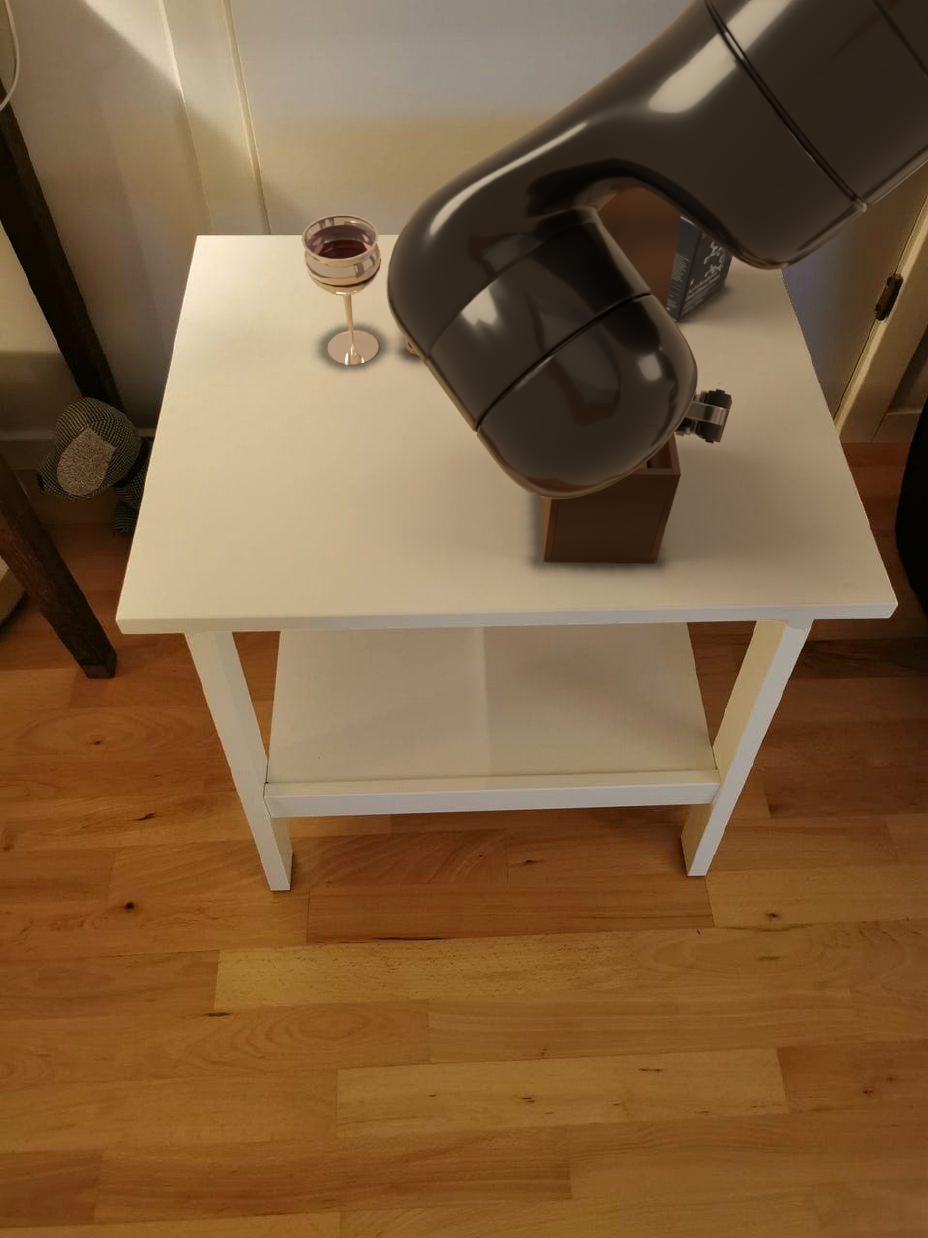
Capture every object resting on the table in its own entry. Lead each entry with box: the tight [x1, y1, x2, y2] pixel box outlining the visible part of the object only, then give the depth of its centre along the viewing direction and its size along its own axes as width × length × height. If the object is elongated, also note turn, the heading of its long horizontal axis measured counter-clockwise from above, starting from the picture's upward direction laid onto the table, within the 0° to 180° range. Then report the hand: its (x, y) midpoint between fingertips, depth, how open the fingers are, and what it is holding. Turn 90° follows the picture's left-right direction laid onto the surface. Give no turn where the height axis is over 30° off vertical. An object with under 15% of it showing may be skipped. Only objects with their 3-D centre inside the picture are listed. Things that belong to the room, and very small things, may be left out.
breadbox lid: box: [598, 188, 681, 309], centre depth 71 cm, size 14×9×1 cm
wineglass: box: [301, 213, 382, 366], centre depth 86 cm, size 7×7×12 cm
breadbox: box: [539, 432, 682, 564], centre depth 76 cm, size 14×9×11 cm, turn 0°
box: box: [666, 214, 734, 322], centre depth 91 cm, size 8×6×11 cm
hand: (614, 399), depth 61 cm, fingers open, 8 cm apart
